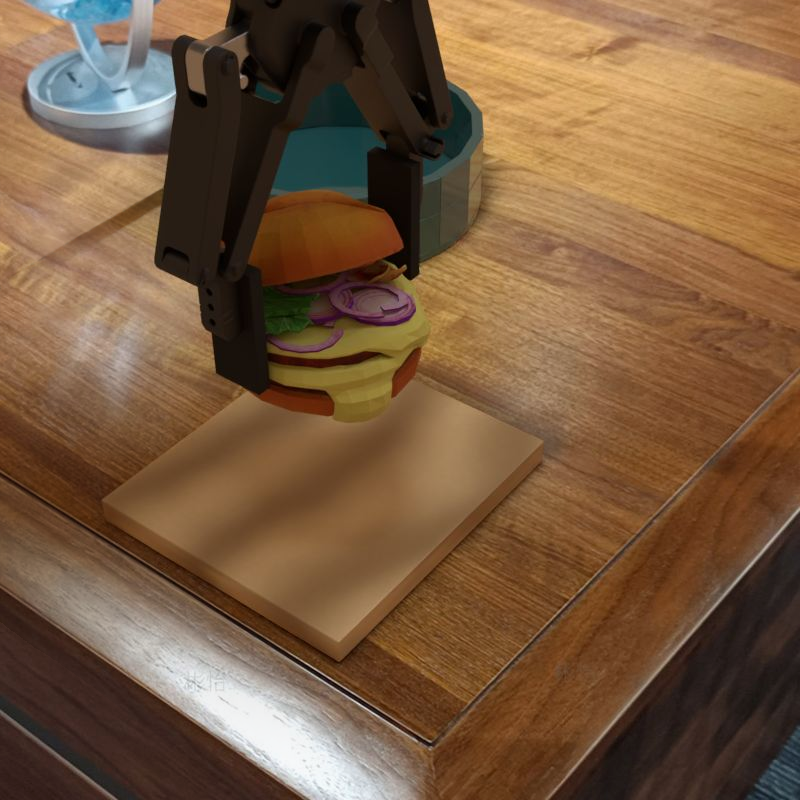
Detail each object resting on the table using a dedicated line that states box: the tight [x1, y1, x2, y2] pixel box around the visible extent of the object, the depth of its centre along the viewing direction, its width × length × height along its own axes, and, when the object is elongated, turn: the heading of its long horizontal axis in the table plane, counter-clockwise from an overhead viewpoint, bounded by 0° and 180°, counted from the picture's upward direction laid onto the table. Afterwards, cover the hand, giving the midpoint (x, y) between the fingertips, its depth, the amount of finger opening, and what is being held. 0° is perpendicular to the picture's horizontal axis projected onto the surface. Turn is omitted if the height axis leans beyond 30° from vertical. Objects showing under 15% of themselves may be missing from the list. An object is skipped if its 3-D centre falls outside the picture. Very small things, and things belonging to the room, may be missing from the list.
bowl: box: [256, 78, 485, 263], centre depth 95 cm, size 21×21×6 cm
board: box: [101, 378, 545, 663], centre depth 73 cm, size 16×18×2 cm
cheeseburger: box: [221, 190, 432, 423], centre depth 65 cm, size 10×11×10 cm
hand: (322, 321), depth 66 cm, fingers closed on cheeseburger, 11 cm apart
